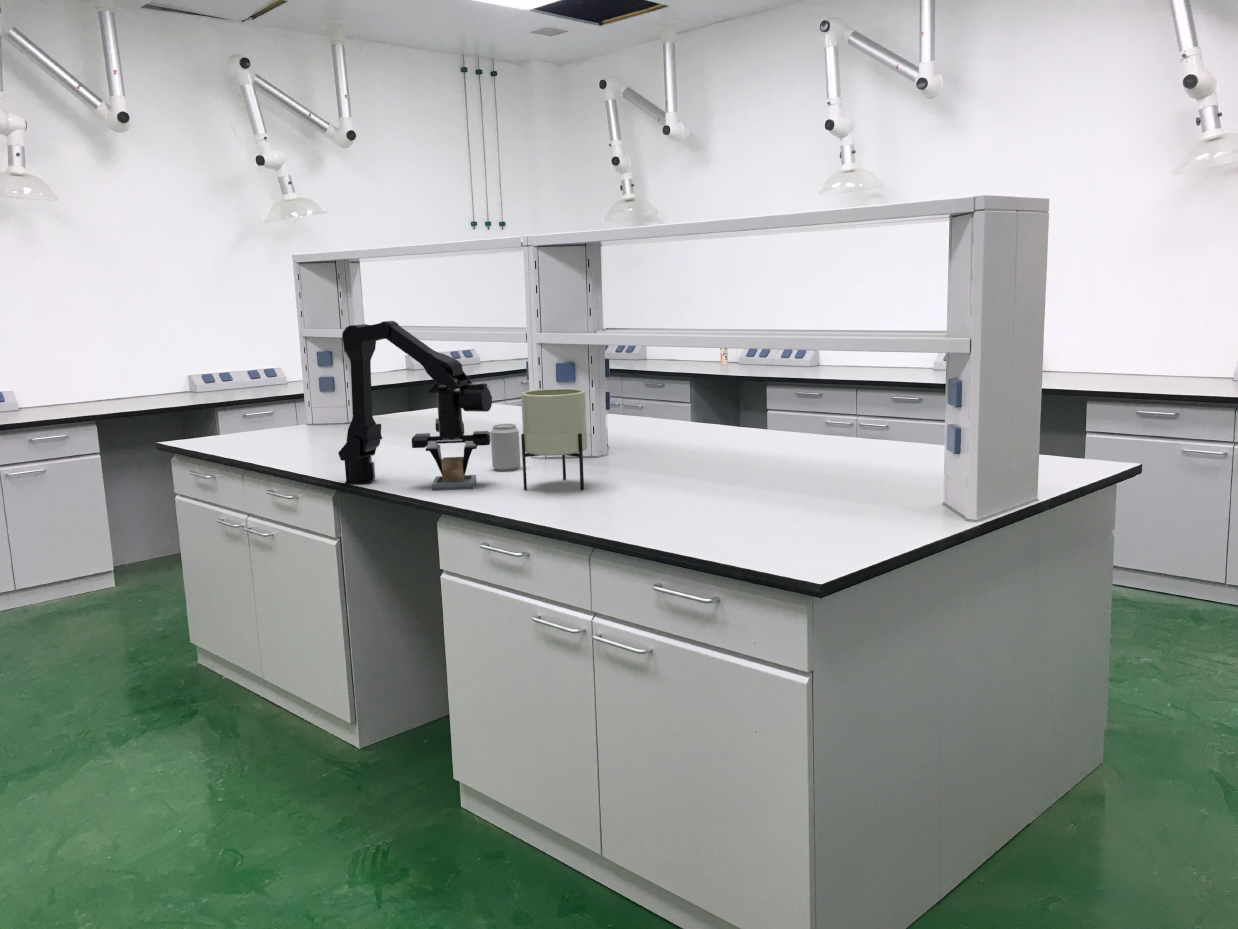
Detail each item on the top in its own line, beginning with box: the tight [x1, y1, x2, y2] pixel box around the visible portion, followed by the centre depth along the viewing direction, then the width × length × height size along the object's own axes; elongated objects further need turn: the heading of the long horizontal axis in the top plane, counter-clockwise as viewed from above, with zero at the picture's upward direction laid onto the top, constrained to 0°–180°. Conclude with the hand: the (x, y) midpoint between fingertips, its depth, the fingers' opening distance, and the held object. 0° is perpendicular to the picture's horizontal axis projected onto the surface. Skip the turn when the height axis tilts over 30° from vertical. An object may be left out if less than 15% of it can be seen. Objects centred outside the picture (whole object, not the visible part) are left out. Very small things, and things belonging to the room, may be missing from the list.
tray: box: [431, 474, 477, 491], centre depth 241 cm, size 10×10×2 cm
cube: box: [441, 456, 466, 481], centre depth 240 cm, size 5×5×5 cm
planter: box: [520, 388, 588, 491], centre depth 234 cm, size 15×16×23 cm
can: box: [490, 423, 521, 472], centre depth 259 cm, size 8×8×12 cm
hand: (453, 473), depth 241 cm, fingers closed on cube, 5 cm apart
